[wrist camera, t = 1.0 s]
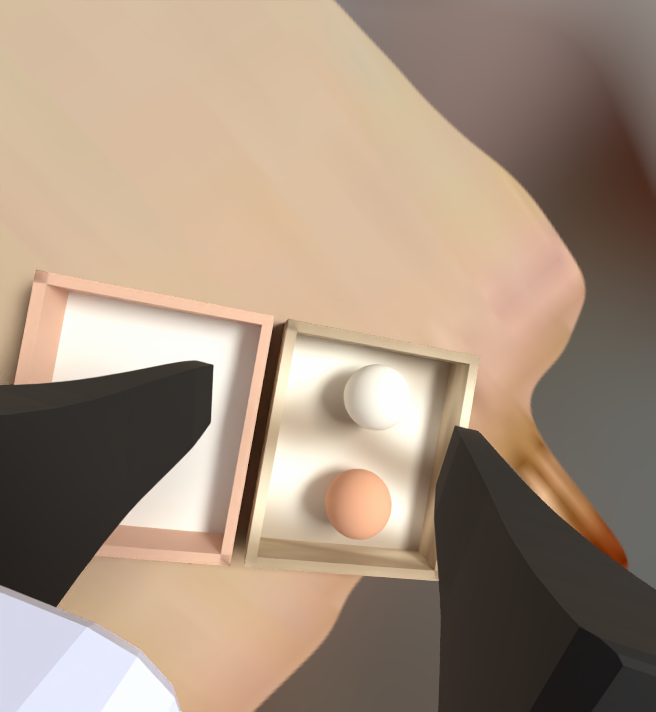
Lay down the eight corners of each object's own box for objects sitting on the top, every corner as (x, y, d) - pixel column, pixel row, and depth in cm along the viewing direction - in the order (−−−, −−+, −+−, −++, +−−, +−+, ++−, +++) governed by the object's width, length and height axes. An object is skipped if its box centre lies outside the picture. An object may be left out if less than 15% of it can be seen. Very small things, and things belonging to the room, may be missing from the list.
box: (422, 557, 27) (441, 581, 24) (245, 542, 24) (244, 567, 22) (457, 355, 27) (480, 356, 24) (284, 322, 25) (288, 318, 22)
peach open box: (232, 541, 24) (229, 565, 21) (16, 523, 22) (-18, 547, 19) (272, 320, 24) (274, 316, 22) (63, 279, 22) (35, 269, 19)
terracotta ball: (373, 524, 26) (395, 556, 22) (315, 518, 25) (326, 550, 21) (383, 464, 26) (407, 485, 22) (325, 457, 25) (339, 477, 21)
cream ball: (390, 427, 26) (414, 441, 22) (332, 418, 25) (347, 432, 21) (400, 368, 26) (426, 371, 22) (343, 358, 25) (359, 359, 21)
